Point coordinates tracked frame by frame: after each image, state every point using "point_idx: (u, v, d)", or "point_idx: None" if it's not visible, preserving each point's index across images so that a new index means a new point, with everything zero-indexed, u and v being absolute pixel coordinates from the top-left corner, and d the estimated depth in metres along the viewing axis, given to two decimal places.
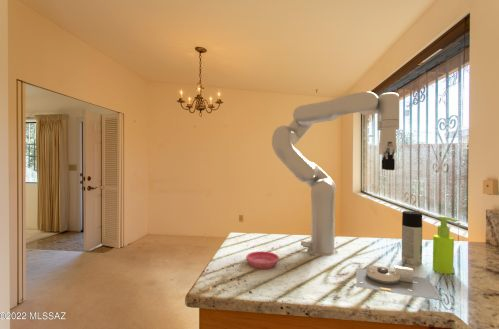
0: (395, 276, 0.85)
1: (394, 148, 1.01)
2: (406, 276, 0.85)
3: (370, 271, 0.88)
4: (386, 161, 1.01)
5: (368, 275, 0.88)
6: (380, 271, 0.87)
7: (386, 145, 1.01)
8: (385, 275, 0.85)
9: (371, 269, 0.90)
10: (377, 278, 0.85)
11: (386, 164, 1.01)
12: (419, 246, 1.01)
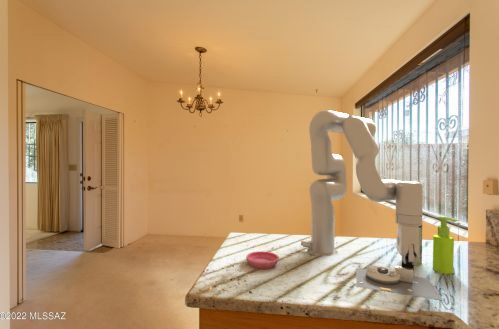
0: (395, 276, 0.85)
1: (417, 252, 0.83)
2: (406, 276, 0.85)
3: (370, 271, 0.88)
4: (404, 266, 0.88)
5: (368, 275, 0.88)
6: (380, 271, 0.87)
7: (407, 247, 0.84)
8: (384, 275, 0.85)
9: (371, 269, 0.90)
10: (377, 278, 0.85)
11: None
12: (419, 246, 1.01)
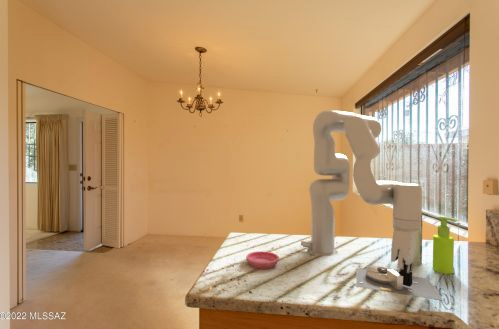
0: (380, 276, 0.85)
1: (405, 259, 0.78)
2: (393, 281, 0.82)
3: (371, 267, 0.92)
4: (400, 273, 0.83)
5: None
6: (377, 269, 0.89)
7: (395, 253, 0.80)
8: (373, 272, 0.88)
9: None
10: (366, 272, 0.90)
11: None
12: (419, 246, 1.01)
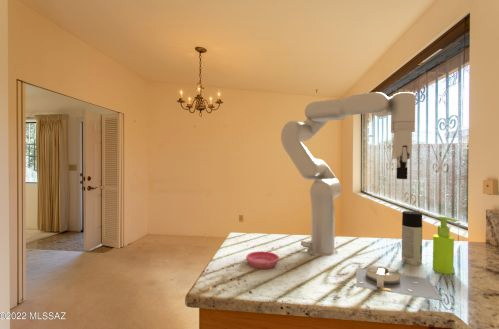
0: (372, 273, 0.87)
1: (409, 152, 0.92)
2: None
3: (378, 266, 0.92)
4: (398, 170, 0.97)
5: None
6: None
7: (401, 149, 0.93)
8: (371, 269, 0.90)
9: None
10: None
11: (398, 173, 0.97)
12: (419, 246, 1.01)
